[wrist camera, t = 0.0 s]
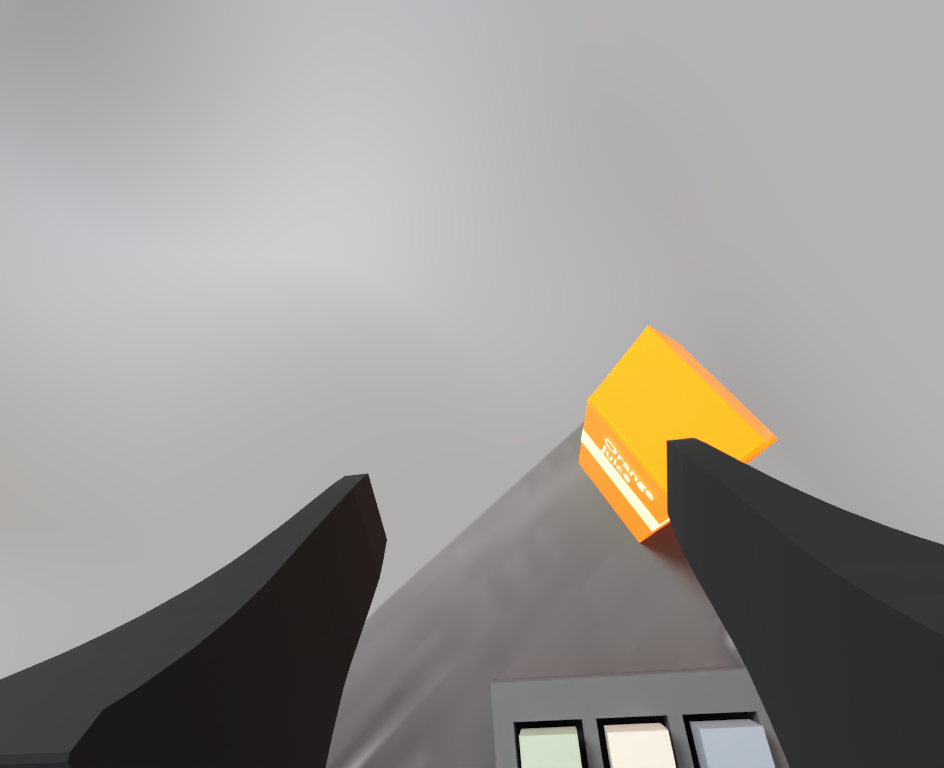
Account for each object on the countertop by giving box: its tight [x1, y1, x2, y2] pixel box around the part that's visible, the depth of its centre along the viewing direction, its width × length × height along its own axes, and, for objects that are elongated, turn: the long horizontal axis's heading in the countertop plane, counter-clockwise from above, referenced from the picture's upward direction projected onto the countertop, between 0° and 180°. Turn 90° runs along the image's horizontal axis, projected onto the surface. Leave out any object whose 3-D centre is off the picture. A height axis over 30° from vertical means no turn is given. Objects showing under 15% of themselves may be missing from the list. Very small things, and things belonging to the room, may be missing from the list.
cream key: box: [604, 723, 676, 768], centre depth 31 cm, size 4×4×2 cm
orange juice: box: [579, 326, 777, 543], centre depth 33 cm, size 8×9×20 cm
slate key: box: [690, 719, 775, 768], centre depth 30 cm, size 4×4×2 cm
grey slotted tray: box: [491, 666, 789, 768], centre depth 32 cm, size 10×26×2 cm, turn 94°
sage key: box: [519, 726, 582, 768], centre depth 31 cm, size 4×4×2 cm
